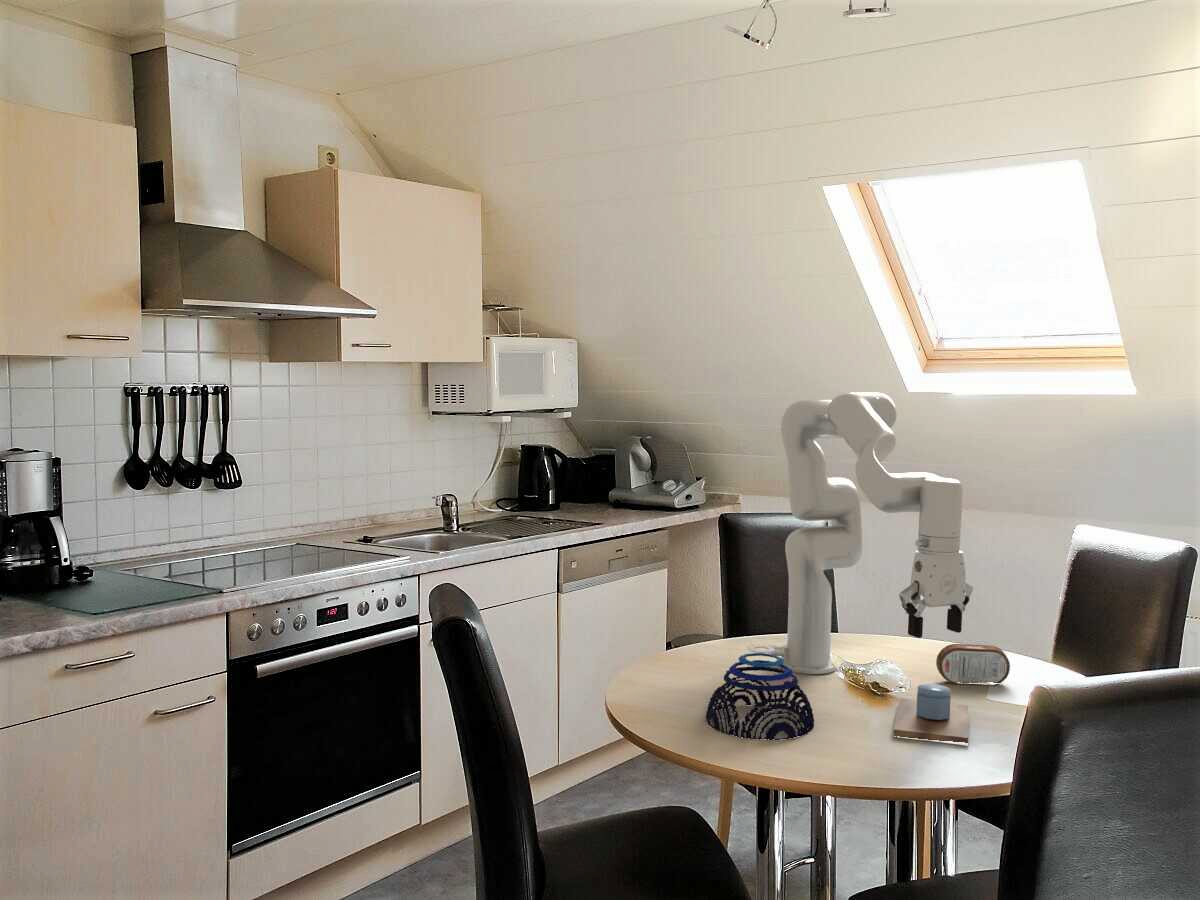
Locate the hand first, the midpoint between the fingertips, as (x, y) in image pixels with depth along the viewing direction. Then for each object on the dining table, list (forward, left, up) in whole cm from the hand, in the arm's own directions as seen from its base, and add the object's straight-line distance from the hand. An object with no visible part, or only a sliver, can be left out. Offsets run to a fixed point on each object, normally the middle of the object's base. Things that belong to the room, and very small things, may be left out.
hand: (934, 633), depth 207 cm
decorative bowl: (-31, -10, -18) cm, 37 cm away
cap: (0, 0, -16) cm, 16 cm away
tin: (+8, +31, -18) cm, 36 cm away
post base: (0, 0, -18) cm, 18 cm away
